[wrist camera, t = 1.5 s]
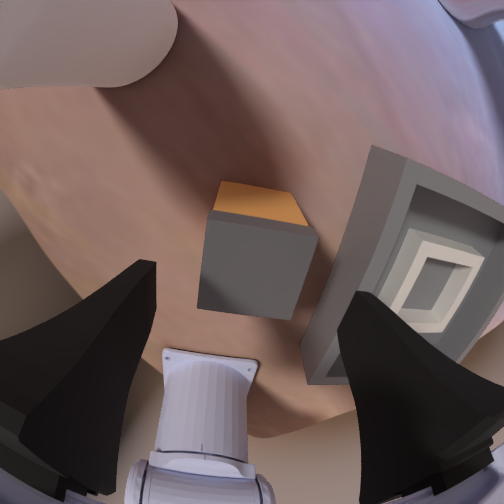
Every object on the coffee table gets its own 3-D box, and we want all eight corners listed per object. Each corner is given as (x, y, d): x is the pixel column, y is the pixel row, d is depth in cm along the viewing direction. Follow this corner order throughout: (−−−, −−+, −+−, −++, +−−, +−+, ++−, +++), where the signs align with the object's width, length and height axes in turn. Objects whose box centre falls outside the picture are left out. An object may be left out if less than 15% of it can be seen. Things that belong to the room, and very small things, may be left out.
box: (435, 346, 24) (451, 373, 20) (299, 345, 22) (307, 384, 18) (508, 209, 16) (537, 229, 13) (371, 145, 14) (406, 158, 11)
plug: (276, 254, 18) (290, 320, 12) (209, 244, 17) (196, 308, 12) (293, 191, 16) (319, 237, 10) (219, 178, 15) (207, 218, 10)
